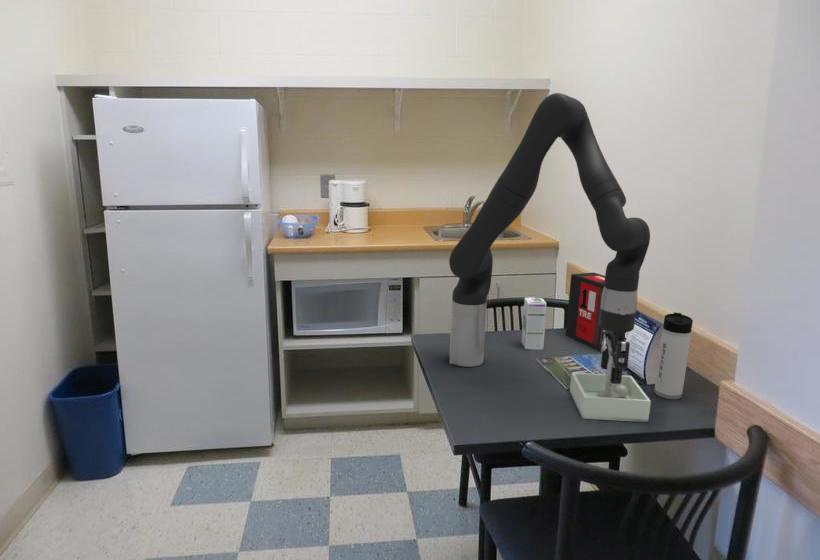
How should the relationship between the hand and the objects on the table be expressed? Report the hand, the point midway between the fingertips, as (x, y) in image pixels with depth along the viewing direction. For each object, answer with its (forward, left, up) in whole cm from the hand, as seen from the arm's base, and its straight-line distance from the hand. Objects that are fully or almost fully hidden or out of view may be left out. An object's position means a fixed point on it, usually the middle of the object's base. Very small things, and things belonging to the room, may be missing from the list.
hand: (610, 375), depth 133 cm
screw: (0, 0, -7) cm, 7 cm away
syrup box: (-12, +39, -8) cm, 42 cm away
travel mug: (+17, +9, -8) cm, 21 cm away
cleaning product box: (+8, +46, -8) cm, 47 cm away
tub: (0, 0, -8) cm, 8 cm away
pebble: (+4, +4, -7) cm, 9 cm away
